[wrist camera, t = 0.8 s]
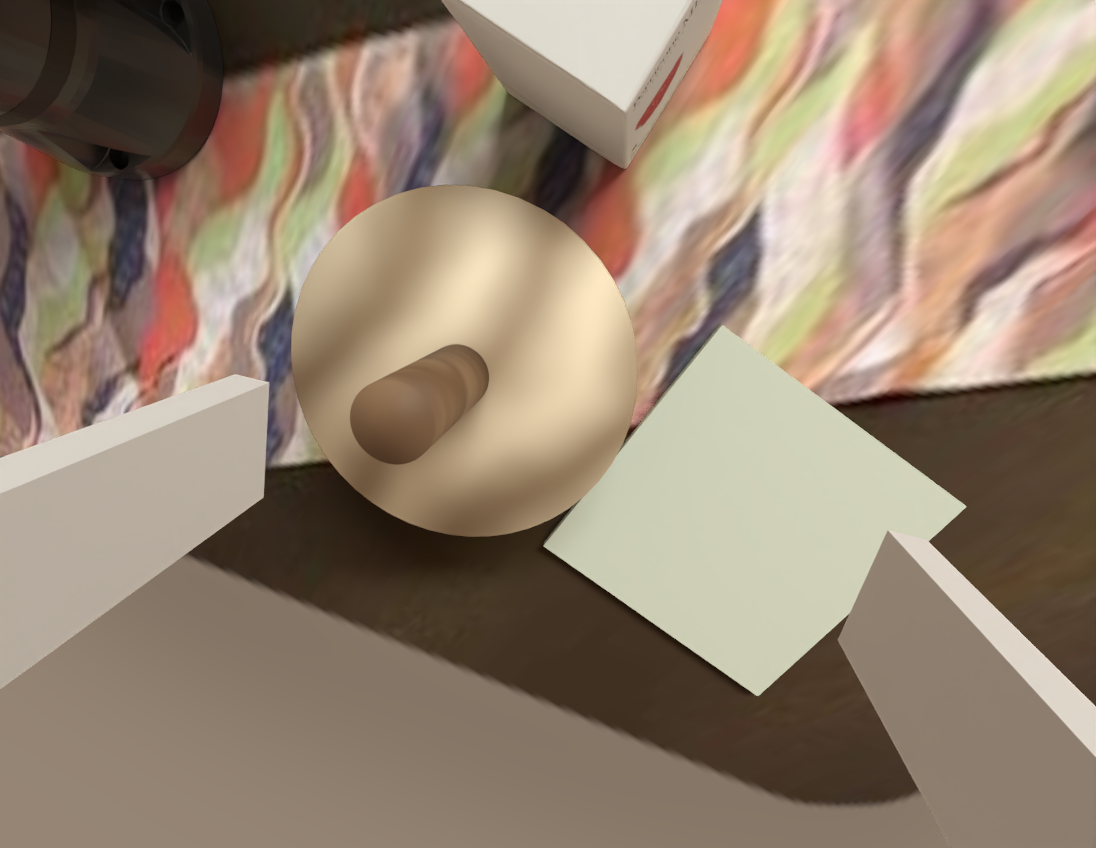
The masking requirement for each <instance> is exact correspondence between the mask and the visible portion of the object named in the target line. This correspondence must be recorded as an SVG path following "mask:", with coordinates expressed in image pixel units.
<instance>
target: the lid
mask: <svg viewBox="0 0 1096 848" xmlns="http://www.w3.org/2000/svg"><path fill="white" fill-rule="evenodd" d="M291 358H292V369H293V377H294V382H295V387H296V391H297V396H298V399H299V402H300V405H301V408H302V411H303V414H304V417H305V419H306V421H307V423H308V426H309V428H310V430H311V432H312V434H313V436H314V438H315V440H316V441H317V443H318V444H319V446H320V448H321V449H322V451H323V452H324V454H325V456H326V457H327V458H328V460H329V461H330V462H331V463H332V465H333V466H334V467H335V468H336V470H337V471H338V472H339V473H340V474H341V475H342V477H343V478H344V479H345V480H346V481H347V482H348V483H349V484H350V485H351V486H352V487H353V488H354V489H356V490H357V491H358V492H359V493H361V494H362V495H363V496H364V497H366V498H367V499H368V500H369V501H371V502H372V503H373V504H375V505H377V506H378V507H380V508H381V509H383V510H384V511H386V512H388V513H389V514H391V515H393V516H395V517H397V518H399V519H401V520H404V521H406V522H408V523H410V524H413V525H416V526H419V527H422V528H424V529H427V530H431V531H435V532H440V533H444V534H449V535H458V536H468V537H477V536H496V535H503V534H509V533H514V532H517V531H521V530H525V529H528V528H532V527H534V526H536V525H539V524H541V523H543V522H546V521H548V520H550V519H552V518H554V517H555V516H557V515H559V514H561V513H562V512H564V511H566V510H567V509H569V508H570V507H571V506H573V505H574V504H575V503H576V502H578V501H579V500H580V499H582V498H583V497H584V496H585V495H586V494H587V493H588V492H589V491H590V490H591V489H592V488H593V487H594V486H595V485H596V484H597V483H598V482H599V481H600V479H601V478H602V477H603V475H604V474H605V473H606V471H607V470H608V468H609V467H610V466H611V464H612V463H613V461H614V459H615V457H616V456H617V454H618V452H619V450H620V448H621V446H622V444H623V442H624V439H625V437H626V434H627V431H628V429H629V426H630V423H631V420H632V415H633V411H634V406H635V402H636V393H637V381H638V368H637V348H636V343H635V338H634V332H633V327H632V323H631V320H630V317H629V314H628V311H627V308H626V305H625V302H624V300H623V298H622V296H621V294H620V291H619V289H618V287H617V285H616V283H615V281H614V279H613V278H612V276H611V275H610V273H609V272H608V270H607V269H606V267H605V266H604V264H603V263H602V261H601V260H600V258H599V257H598V256H597V255H596V254H595V253H594V251H593V250H592V249H591V248H590V247H589V246H588V245H587V243H586V242H585V241H584V240H583V239H582V238H581V237H579V236H578V235H577V234H576V233H575V232H574V231H573V230H571V229H570V228H569V227H568V226H567V225H566V224H564V223H563V222H561V221H560V220H558V219H557V218H555V217H554V216H552V215H551V214H549V213H548V212H546V211H545V210H543V209H541V208H539V207H537V206H535V205H533V204H530V203H528V202H526V201H524V200H522V199H520V198H518V197H515V196H512V195H509V194H506V193H502V192H499V191H496V190H493V189H487V188H481V187H475V186H469V185H439V186H430V187H422V188H417V189H414V190H410V191H406V192H403V193H399V194H396V195H394V196H391V197H389V198H387V199H385V200H382V201H380V202H378V203H376V204H374V205H372V206H371V207H369V208H368V209H366V210H364V211H363V212H361V213H360V214H358V215H357V216H355V217H354V218H353V219H352V220H351V221H349V222H348V223H347V224H346V225H345V226H344V227H342V228H341V229H340V230H339V231H338V232H337V233H336V234H335V236H334V237H333V238H332V239H331V240H330V241H329V242H328V244H327V245H326V246H325V247H324V248H323V250H322V251H321V253H320V254H319V256H318V258H317V259H316V261H315V262H314V264H313V265H312V267H311V269H310V271H309V273H308V276H307V278H306V280H305V282H304V284H303V287H302V289H301V292H300V296H299V299H298V302H297V306H296V309H295V315H294V321H293V327H292V342H291Z"/></svg>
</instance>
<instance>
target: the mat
mask: <svg viewBox="0 0 1096 848" xmlns="http://www.w3.org/2000/svg"><path fill="white" fill-rule="evenodd" d="M966 507H967V506H965V505H964V504H963V503H961V502H960V501H959V500H957V499H956V498H955V497H953V496H952V495H951V494H949V493H948V492H947V491H945V490H944V489H942V488H941V487H940V486H938V485H937V484H936V483H934V482H933V481H932V480H930V479H929V478H928V477H926V476H925V475H924V474H922V473H921V472H920V471H918V470H917V469H916V468H914V467H913V466H912V465H910V464H909V463H908V462H906V461H905V460H903V459H902V458H901V457H899V456H898V455H897V454H895V453H894V452H893V451H891V450H890V449H889V448H887V447H886V446H885V445H883V444H882V443H881V442H879V441H878V440H877V439H875V438H874V437H873V436H871V435H870V434H868V433H867V432H866V431H864V430H863V429H862V428H860V427H859V426H858V425H856V424H855V423H854V422H852V421H851V420H850V419H848V418H847V417H846V416H844V415H843V414H842V413H840V412H839V411H838V410H836V409H835V408H833V407H832V406H831V405H829V404H828V403H827V402H825V401H824V400H823V399H821V398H820V397H819V396H817V395H816V394H815V393H813V392H812V391H811V390H809V389H808V388H807V387H805V386H804V385H803V384H801V383H800V382H798V381H797V380H796V379H794V378H793V377H792V376H790V375H789V374H788V373H786V372H785V371H784V370H782V369H781V368H780V367H778V366H777V365H776V364H774V363H773V362H772V361H770V360H769V359H768V358H766V357H765V356H763V355H762V354H761V353H759V352H758V351H757V350H755V349H754V348H753V347H751V346H750V345H749V344H747V343H746V342H745V341H743V340H742V339H741V338H739V337H738V336H737V335H735V334H734V333H733V332H731V331H730V330H729V329H727V328H726V327H724V326H723V325H722V324H720V325H719V326H718V327H717V328H716V330H715V331H714V332H713V333H712V335H711V336H710V337H709V338H708V339H707V341H706V342H705V343H704V344H703V346H702V347H701V348H700V349H699V351H698V352H697V353H696V354H695V356H694V357H693V358H692V359H691V361H690V362H689V363H688V364H687V365H686V367H685V368H684V369H683V370H682V372H681V373H680V374H679V375H678V377H677V378H676V379H675V380H674V382H673V383H672V384H671V385H670V387H669V388H668V389H667V390H666V391H665V393H664V394H663V395H662V396H661V398H660V399H659V400H658V401H657V403H656V404H655V405H654V406H653V408H652V409H651V410H650V411H649V413H648V414H647V415H646V416H645V417H644V419H643V420H642V421H641V422H640V424H639V425H638V426H637V427H636V429H635V430H634V431H633V432H632V434H631V435H630V436H629V437H628V439H627V440H626V441H625V442H624V443H623V445H622V446H621V448H620V450H619V452H618V454H617V456H616V457H615V459H614V461H613V463H612V464H611V466H610V467H609V468H608V470H607V471H606V473H605V474H604V475H603V477H602V478H601V479H600V481H599V482H598V483H597V484H596V485H595V486H594V487H593V488H592V489H591V490H590V491H589V492H588V493H587V494H586V495H585V496H584V497H583V498H582V499H580V500H579V501H578V502H576V503H575V504H574V505H573V507H572V508H571V509H570V510H569V512H568V513H567V514H566V515H565V517H564V518H563V519H562V520H561V522H560V523H559V524H558V525H557V526H556V528H555V529H554V530H553V531H552V533H551V534H550V535H549V536H548V538H547V539H546V540H545V542H544V545H543V546H544V547H545V548H547V549H548V550H549V551H551V552H552V553H554V554H555V555H557V556H558V557H559V558H561V559H562V560H564V561H565V562H567V563H568V564H569V565H571V566H572V567H574V568H575V569H577V570H578V571H579V572H581V573H582V574H584V575H585V576H587V577H588V578H589V579H591V580H592V581H594V582H595V583H597V584H598V585H599V586H601V587H602V588H604V589H605V590H607V591H608V592H609V593H611V594H612V595H614V596H615V597H617V598H618V599H619V600H621V601H622V602H624V603H625V604H627V605H628V606H629V607H631V608H632V609H634V610H635V611H637V612H638V613H639V614H641V615H642V616H644V617H645V618H646V619H648V620H649V621H651V622H652V623H654V624H655V625H656V626H658V627H659V628H661V629H662V630H664V631H665V632H666V633H668V634H669V635H671V636H672V637H674V638H675V639H676V640H678V641H679V642H681V643H682V644H684V645H685V646H686V647H688V648H689V649H691V650H692V651H694V652H695V653H696V654H698V655H699V656H701V657H702V658H704V659H705V660H706V661H708V662H709V663H711V664H712V665H714V666H715V667H716V668H718V669H719V670H721V671H722V672H724V673H725V674H726V675H728V676H729V677H731V678H732V679H733V680H735V681H736V682H738V683H739V684H741V685H742V686H743V687H745V688H746V689H748V690H749V691H751V692H752V693H753V694H755V695H756V696H759V695H760V694H761V693H762V692H763V691H764V690H765V689H767V688H768V687H769V686H770V685H771V684H772V683H773V682H774V681H775V680H776V679H778V678H779V677H780V676H781V675H782V674H783V673H784V672H785V671H786V670H787V669H789V668H790V667H791V666H792V665H793V664H794V663H795V662H796V661H797V660H798V659H800V658H801V657H802V656H803V655H804V654H805V653H806V652H807V651H808V650H809V649H811V648H812V647H813V646H814V645H815V644H816V643H817V642H818V641H819V640H820V639H822V638H823V637H824V636H825V635H826V634H827V633H828V632H829V631H830V630H831V629H833V628H834V627H835V626H836V625H837V624H838V623H839V622H840V621H841V620H842V619H844V618H845V617H846V616H847V615H848V614H849V613H850V612H851V610H852V608H853V605H854V603H855V601H856V599H857V597H858V594H859V592H860V590H861V588H862V586H863V583H864V581H865V579H866V577H867V575H868V572H869V570H870V568H871V566H872V564H873V561H874V559H875V557H876V555H877V553H878V550H879V548H880V546H881V544H882V542H883V539H884V537H885V535H886V533H887V531H888V530H889V531H893V532H898V533H902V534H906V535H910V536H914V537H919V538H923V539H926V540H927V541H929V540H931V539H932V538H933V537H934V536H935V535H936V534H937V533H938V532H939V531H940V530H942V529H943V528H944V527H945V526H946V525H947V524H948V523H949V522H950V521H951V520H953V519H954V518H955V517H956V516H957V515H958V514H959V513H960V512H961V511H962V510H964V509H965V508H966Z"/></svg>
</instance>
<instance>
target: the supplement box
mask: <svg viewBox="0 0 1096 848" xmlns="http://www.w3.org/2000/svg"><path fill="white" fill-rule="evenodd" d="M441 1H442V2H443V3H444V5H445V6H446V7H447V9H448V10H449V11H450V13H451V14H452V16H453V17H454V18H455V20H456V21H457V23H458V24H459V25H460V27H461V28H462V29H463V31H464V32H465V34H466V35H467V36H468V38H469V39H470V41H471V42H472V43H473V45H474V46H475V48H476V49H477V50H478V52H479V53H480V55H481V56H482V58H483V59H484V60H485V62H486V63H487V64H488V66H489V67H490V69H491V70H492V71H493V73H494V74H495V76H496V77H497V78H498V80H499V81H500V82H501V84H502V85H503V87H504V88H505V90H506V91H507V92H508V93H509V94H510V95H512V96H513V97H515V98H516V99H518V100H519V101H521V102H522V103H524V104H525V105H526V106H528V107H529V108H531V109H532V110H534V111H535V112H537V113H538V114H540V115H541V116H543V117H544V118H546V119H547V120H549V121H550V122H552V123H553V124H555V125H556V126H558V127H559V128H561V129H562V130H564V131H565V132H567V133H568V134H570V135H571V136H573V137H574V138H576V139H577V140H579V141H580V142H582V143H583V144H584V145H586V146H587V147H589V148H590V149H592V150H593V151H595V152H596V153H598V154H599V155H601V156H603V157H604V158H606V159H607V160H609V161H610V162H612V163H613V164H615V165H617V166H619V167H620V168H623V169H626V168H627V167H628V166H629V164H630V163H631V161H632V160H633V158H634V157H635V155H636V153H637V152H638V150H639V149H640V147H641V145H642V144H643V142H644V141H645V139H646V137H647V136H648V134H649V132H650V131H651V129H652V128H653V126H654V124H655V123H656V121H657V119H658V118H659V116H660V115H661V113H662V111H663V110H664V108H665V106H666V105H667V103H668V102H669V100H670V98H671V97H672V95H673V93H674V92H675V90H676V89H677V87H678V85H679V84H680V82H681V80H682V79H683V77H684V76H685V74H686V72H687V71H688V69H689V67H690V66H691V64H692V62H693V61H694V59H695V57H696V56H697V54H698V53H699V51H700V49H701V48H702V46H703V44H704V43H705V41H706V39H707V38H708V36H709V34H710V32H711V30H712V27H713V24H714V21H715V19H716V16H717V14H718V11H719V8H720V5H721V3H722V0H441Z"/></svg>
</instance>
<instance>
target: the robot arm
mask: <svg viewBox="0 0 1096 848" xmlns="http://www.w3.org/2000/svg"><path fill="white" fill-rule="evenodd" d="M222 83H223V63H222V52H221V45H220V40H219V35H218V31H217V27H216V23H215V20H214V17H213V14H212V11H211V9H210V6H209V4H208V2H207V0H0V131H2V132H4V133H6V134H8V135H10V136H12V137H13V138H15V139H17V140H19V141H21V142H23V143H25V144H27V145H29V146H31V147H33V148H35V149H36V150H38V151H40V152H42V153H44V154H46V155H48V156H50V157H52V158H54V159H56V160H58V161H60V162H61V163H63V164H66V165H68V166H70V167H72V168H75V169H77V170H80V171H83V172H87V173H90V174H94V175H99V176H105V177H112V178H119V179H126V180H147V179H153V178H157V177H160V176H163V175H166V174H168V173H170V172H173V171H174V170H176V169H178V168H179V167H181V166H182V165H183V164H185V163H186V162H187V161H188V160H189V159H191V158H192V157H193V156H194V154H195V153H196V152H197V151H198V150H199V149H200V147H201V146H202V144H203V143H204V141H205V140H206V138H207V136H208V135H209V133H210V131H211V128H212V126H213V124H214V121H215V118H216V115H217V112H218V109H219V104H220V99H221V93H222ZM268 398H269V382H265V381H261V380H257V379H253V378H248V377H244V376H240V375H236V374H235V375H232V376H229V377H226V378H223V379H221V380H218V381H215V382H212V383H209V384H206V385H204V386H201V387H198V388H195V389H192V390H190V391H187V392H184V393H181V394H178V395H175V396H173V397H170V398H167V399H164V400H161V401H159V402H156V403H153V404H150V405H147V406H145V407H142V408H139V409H136V410H133V411H130V412H128V413H125V414H122V415H119V416H116V417H114V418H111V419H108V420H105V421H102V422H99V423H97V424H94V425H91V426H88V427H85V428H83V429H80V430H77V431H74V432H71V433H68V434H66V435H63V436H60V437H57V438H54V439H52V440H49V441H46V442H43V443H40V444H38V445H35V446H32V447H29V448H26V449H23V450H21V451H18V452H15V453H12V454H9V455H7V456H2V457H0V689H1V688H3V687H4V686H5V685H7V684H8V683H9V682H11V681H12V680H13V679H15V678H16V677H17V676H19V675H20V674H22V673H23V672H24V671H25V670H27V669H29V668H30V667H31V666H33V665H34V664H35V663H37V662H38V661H40V660H41V659H42V658H44V657H45V656H46V655H48V654H49V653H51V652H52V651H53V650H55V649H56V648H57V647H59V646H60V645H61V644H63V643H64V642H65V641H67V640H68V639H70V638H71V637H72V636H74V635H75V634H77V633H78V632H79V631H81V630H82V629H83V628H85V627H86V626H88V625H89V624H90V623H92V622H93V621H94V620H96V619H97V618H99V617H100V616H101V615H102V614H104V613H105V612H107V611H108V610H110V609H111V608H112V607H114V606H115V605H116V604H118V603H119V602H120V601H122V600H123V599H125V598H126V597H127V596H129V595H130V594H132V593H133V592H134V591H136V590H137V589H138V588H140V587H141V586H142V585H144V584H145V583H147V582H148V581H149V580H151V579H152V578H153V577H155V576H156V575H158V574H159V573H160V572H162V571H163V570H164V569H166V568H167V567H169V566H170V565H171V564H173V563H174V562H175V561H177V560H178V559H179V558H181V557H182V556H184V555H185V554H186V553H188V552H189V551H191V550H192V549H193V548H195V547H196V546H197V545H199V544H200V543H202V542H203V541H204V540H206V539H207V538H208V537H210V536H211V535H212V534H214V533H215V532H217V531H218V530H219V529H221V528H222V527H223V526H225V525H226V524H228V523H229V522H230V521H232V520H233V519H234V518H236V517H237V516H239V515H240V514H241V513H243V512H244V511H245V510H247V509H248V508H250V507H251V506H252V505H254V504H255V503H256V502H258V501H259V500H261V499H262V498H263V497H264V478H265V458H266V438H267V418H268ZM838 641H839V643H840V645H841V647H842V649H843V651H844V653H845V654H846V656H847V658H848V660H849V662H850V664H851V665H852V667H853V669H854V671H855V673H856V675H857V677H858V678H859V680H860V682H861V684H862V686H863V688H864V689H865V691H866V693H867V695H868V697H869V699H870V701H871V702H872V704H873V706H874V708H875V710H876V712H877V713H878V715H879V717H880V719H881V721H882V723H883V725H884V726H885V728H886V730H887V732H888V734H889V736H890V737H891V739H892V741H893V743H894V745H895V747H896V749H897V750H898V752H899V754H900V756H901V758H902V760H903V761H904V763H905V765H906V767H907V769H908V771H909V773H910V774H911V776H912V778H913V780H914V782H915V784H916V785H917V787H918V789H919V791H920V793H921V795H922V797H923V798H924V800H925V802H926V804H927V805H928V808H929V809H930V811H931V813H932V815H933V817H934V819H935V820H936V822H937V824H938V826H939V828H940V830H941V832H942V833H943V835H944V837H945V839H946V841H947V843H948V845H949V846H950V848H1096V706H1095V705H1094V704H1093V703H1091V702H1090V701H1089V700H1088V699H1087V698H1086V697H1085V696H1084V695H1083V694H1082V693H1081V692H1080V691H1079V690H1078V689H1077V688H1076V687H1075V686H1074V685H1073V684H1072V683H1071V682H1070V681H1069V680H1068V679H1067V678H1066V677H1065V676H1064V675H1063V674H1062V673H1061V672H1060V671H1059V670H1058V669H1057V668H1056V667H1055V666H1054V665H1053V664H1052V663H1051V662H1050V661H1049V660H1048V659H1047V658H1046V657H1045V656H1044V655H1043V654H1042V653H1041V652H1040V651H1039V650H1038V649H1037V648H1036V647H1035V646H1034V645H1033V644H1032V643H1031V642H1030V641H1029V640H1028V639H1027V638H1026V637H1025V636H1024V635H1022V634H1021V633H1020V632H1019V631H1018V630H1017V629H1016V628H1015V627H1014V626H1013V625H1012V624H1011V623H1010V622H1009V621H1008V620H1007V619H1006V618H1005V617H1004V616H1003V615H1002V614H1001V613H1000V612H999V611H998V610H997V609H996V608H995V607H994V606H993V605H992V604H991V603H990V602H989V601H988V600H987V599H986V598H985V597H984V596H983V595H982V594H981V593H980V592H979V591H978V590H977V589H976V588H975V587H974V586H973V585H972V584H971V583H970V582H969V581H968V580H967V579H966V578H965V577H964V576H963V575H962V574H961V573H960V572H959V571H958V570H957V569H956V568H955V567H953V566H952V565H951V564H950V563H949V562H948V561H947V560H946V559H945V558H944V557H943V556H942V555H941V554H940V553H939V552H938V551H937V550H936V549H935V548H934V547H933V546H932V545H931V544H930V543H929V542H928V541H927V540H926V539H923V538H919V537H914V536H910V535H906V534H902V533H898V532H893V531H889V530H888V531H887V533H886V535H885V537H884V539H883V542H882V544H881V546H880V548H879V550H878V553H877V555H876V557H875V559H874V561H873V564H872V566H871V568H870V570H869V572H868V575H867V577H866V579H865V581H864V583H863V586H862V588H861V590H860V592H859V594H858V597H857V599H856V601H855V603H854V605H853V608H852V610H851V612H850V614H849V616H848V619H847V621H846V623H845V625H844V627H843V630H842V632H841V634H840V636H839V638H838Z"/></svg>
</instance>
